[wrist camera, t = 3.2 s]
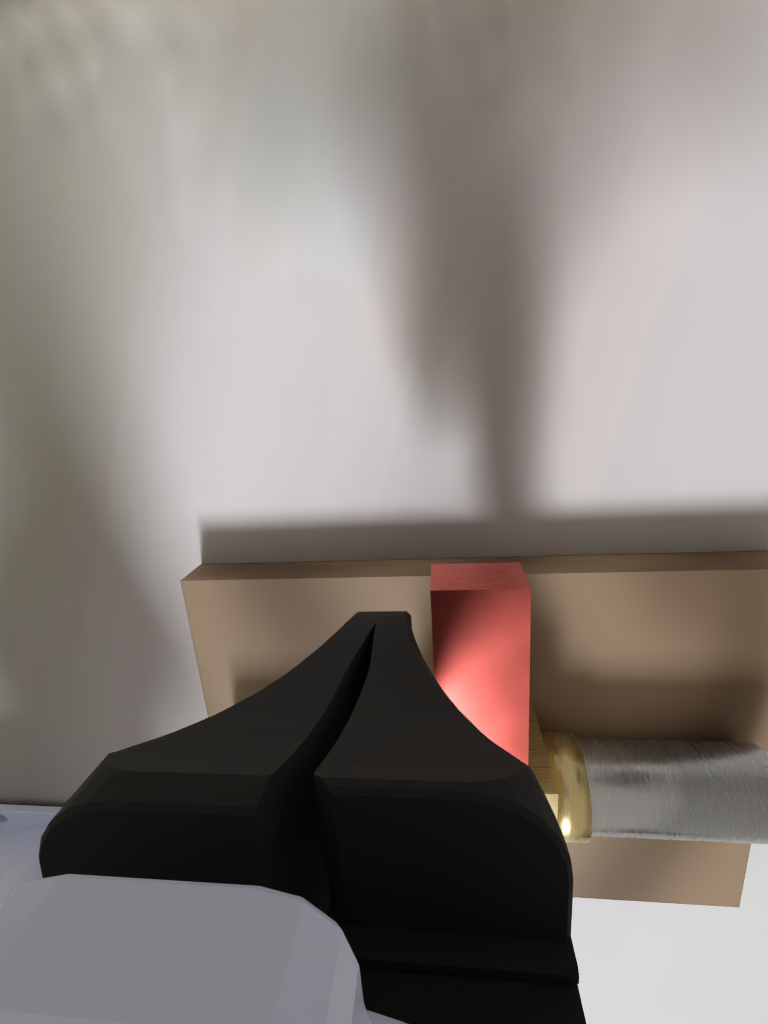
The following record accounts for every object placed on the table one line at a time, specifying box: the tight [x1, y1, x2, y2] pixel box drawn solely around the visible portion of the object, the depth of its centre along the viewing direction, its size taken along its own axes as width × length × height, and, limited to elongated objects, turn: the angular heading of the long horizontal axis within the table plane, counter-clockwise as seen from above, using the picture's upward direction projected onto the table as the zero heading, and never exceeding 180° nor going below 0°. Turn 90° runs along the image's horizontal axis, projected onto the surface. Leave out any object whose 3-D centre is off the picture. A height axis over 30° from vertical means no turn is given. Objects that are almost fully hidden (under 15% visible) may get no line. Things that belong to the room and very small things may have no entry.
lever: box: [430, 562, 531, 765], centre depth 12 cm, size 10×3×2 cm, turn 4°
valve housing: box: [528, 705, 768, 844], centre depth 16 cm, size 18×4×4 cm, turn 94°
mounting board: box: [181, 551, 768, 907], centre depth 18 cm, size 20×14×2 cm
